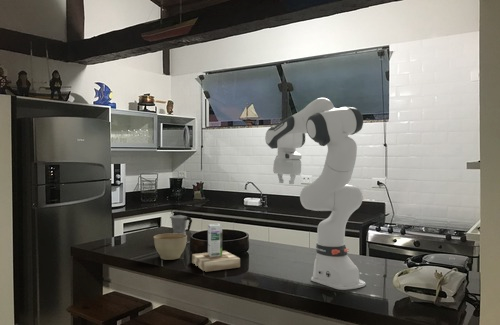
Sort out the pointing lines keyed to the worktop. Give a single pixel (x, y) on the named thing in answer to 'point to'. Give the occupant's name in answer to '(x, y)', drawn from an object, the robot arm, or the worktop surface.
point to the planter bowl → (170, 245)
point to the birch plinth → (215, 261)
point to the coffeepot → (180, 223)
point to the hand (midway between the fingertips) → (286, 183)
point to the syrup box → (214, 240)
